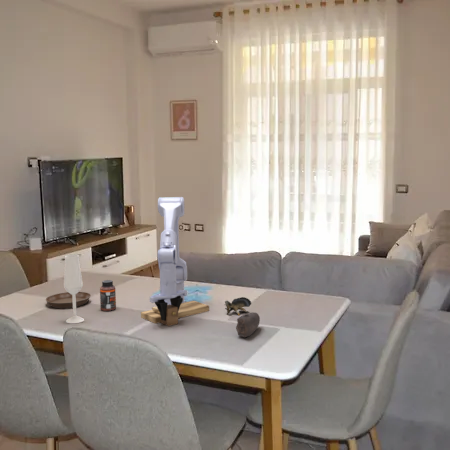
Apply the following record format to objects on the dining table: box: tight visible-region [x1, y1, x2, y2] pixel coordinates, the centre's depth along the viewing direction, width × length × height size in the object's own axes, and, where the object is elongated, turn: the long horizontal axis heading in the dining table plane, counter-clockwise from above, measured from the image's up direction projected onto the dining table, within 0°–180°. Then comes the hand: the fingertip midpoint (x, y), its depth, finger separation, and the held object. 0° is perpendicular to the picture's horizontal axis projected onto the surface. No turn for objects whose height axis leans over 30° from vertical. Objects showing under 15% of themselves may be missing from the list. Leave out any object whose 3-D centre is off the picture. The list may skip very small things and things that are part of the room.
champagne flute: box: [63, 254, 85, 324], centre depth 203 cm, size 7×7×24 cm
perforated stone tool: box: [235, 312, 261, 338], centre depth 187 cm, size 15×5×7 cm, turn 152°
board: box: [140, 300, 210, 325], centre depth 211 cm, size 10×24×2 cm, turn 129°
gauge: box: [151, 304, 179, 327], centre depth 202 cm, size 14×4×6 cm, turn 39°
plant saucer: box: [45, 291, 92, 309], centre depth 228 cm, size 18×18×3 cm
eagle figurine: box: [224, 296, 252, 316], centre depth 210 cm, size 8×7×9 cm
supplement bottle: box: [99, 279, 117, 312], centre depth 218 cm, size 6×6×11 cm
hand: (169, 318), depth 200 cm, fingers closed on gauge, 4 cm apart
